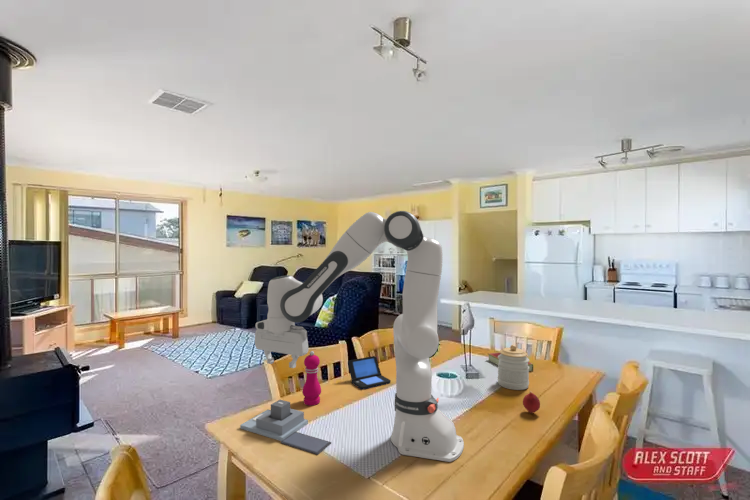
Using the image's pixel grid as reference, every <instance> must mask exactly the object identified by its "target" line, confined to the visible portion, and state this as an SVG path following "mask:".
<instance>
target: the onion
mask: <svg viewBox="0 0 750 500" xmlns="http://www.w3.org/2000/svg"><path fill="white" fill-rule="evenodd" d="M522 405H523V407H524V408H525V409H526V411H528V412H529V414H533V413H536V412H538V411H539V410H540V407H541V401H540V399H539V398H538V396H537V395H536V394H534V392H533V391H532V390H529V393H527V394H525V395H524V397H523V399H522Z"/></svg>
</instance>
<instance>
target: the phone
mask: <svg viewBox="0 0 750 500" xmlns="http://www.w3.org/2000/svg"><path fill="white" fill-rule="evenodd" d="M280 444H283V445H286V446H288V447H292V448H295V449H297V450H301V451H304V452H307V453H309V454H310V453H311V454H314V455H316V456H319V455H320V454H322V452H323V451H324V450H326V449H327V448H328V447H329V446H331V444H332V442H331V441H328V440H326V439H322V438H318V437H315V436H312V435H309V434H304V433H302V432H298V431H297V432H294V433H292V434H291V435H290V436H288V437H287V438H285V439H284V440H282V441H280Z"/></svg>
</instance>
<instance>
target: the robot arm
mask: <svg viewBox="0 0 750 500" xmlns="http://www.w3.org/2000/svg"><path fill="white" fill-rule="evenodd" d="M386 242H388V243H390V244H392V245H393V246H394V247H397V248H399V249H403V250H405V251H406V254H407V260H406V261H407V263H406V269H405V274H404V282H403V287H402V313H401V314H399V315H398V316H397V317H396V318H395V320H394V322H393V325H392V327H393V328H392V329H393V330H392V331H393V346H394V347H393V348H394V358H395V368H396V369H395V371H396V378H395V379H396V381H395V382H396V387H395V389H396V390H395V391H396V392H395V393H394V412H395V414H394V415H395V416H394V423H393V427H392V432H391V435H390V441H391V443H392V444H393V446H395V447H396V448H397V449H398V450H397V451H398V453H400V455H403V456H409V457H417V458H422V459H429V460H435V461H442V462H449V463H451V462H454V461H455V460H457V459H458V458H459V457H460V456H461V455H462V454H463V451H464V448H465V444H464V439H463V437H462V436H461V435H458V434H457V430H456V429H457V428H456V427H455V423H454V422H453V421H452V420H451V419H450V418H449V417H448V416H447V415H445V414H444V412H442V411H441V410H440V409H439V408H438V407H439V405H438V403H439V399H440V398H439V397H437V398H435V396H433V394H432V389H433V388H432V387H433V386H432V385H433V384H432V376H433V374H432V366H431V363H430V362H431V361H430V358H431V357H432V356H433V355H435V353H436V352H437V351H438V348H439V345H440V339H439V335H438V317H439V316H438V301H439V292H440V285H441V277H442V272H443V271H442V270H443V247H442V245H441V243H440V242H439V241H437V240H436V239H434V238H431V237H426V236H425V235H424V233H423V231H422V228H421V224H420V222H419V220H418V218H417V217H416V216H415V215H414V214H412V213H411V212H409V211H406V210H397V211H395V212H394V211H393V213H391V214H390V215H389V216H388V217H387V218H385V217H383V216H382V215H380V214H379V213H376V212H374V211H368V212H365V213H364V214H362V216H360V217H359V218H358V219H357V220H356V221H353V223H352V224H351V225H350V226H349V227H348V228H347V229H346V231H345V232H344V233H343V234H342V235H341V236H340V237H339V239H338V240H337V242H336V243H335V245H334V246H333V248H332V249H331V251H330V252H329V253H328V254H327V256H326V257H325V258H324V260H323V261H322V262H321V264H319V266H318V267H316V269H315V270H314V271H312V273H311V274H310V275H309V276H308V277H307V279H306V280H305V281H303V282H302V281H299V280H298V279H296V278H295V277H294V276H292V275H288V274H287V275H281V276H275V277H273V278H271V279H270V281H269V282H268V285H267V297H266V299H267V302H266V303H267V308H268V311H267V316H266V317H267V318H266V319H263V320H261V321H257V322H256V323H255V325H254V326H255V329H256V330H255V334H254V346H255V348H256V350H260V351H263V354H264V356H265V358H266V363H267V364H269V365H272V364H274V363H275V357H272V356H273V355H272V352H273V353H278V354H283V355H290V356H291V359H292V360H291V361H290V362H288V367H289V368H291V369H294V368H295V369H296V367H297V362H298V359H299V358H300V357H302V356H303V357H304V356H305V355H307V354H308V353H309V341H308V332H307V330H306V329H305V328H304V327H303V326H298V325H295V323H302V322H304V321H306V320H307V319H308V318H309V317H310V316H312V315H313V314H315V313H316V312H317V311H319V309H320V308H321V307H322V305H323V302H324V296H323V293H324V292H325V290H327V288H329V286H330V285H331V284H332V283H333V282H334V281H335V280H336V279H338V278H339V277H340V276H342V275H343V274H345V273H348V272H349V271H351V270H353V269H355V268H357V267H358V266H360V265H361V264H362V263H364V262H365V261H366V260H367V259H368V258H369V257H370V256H371V254H373V253H374V251H375V250H377V248H378V247H379V246H380V245H381V244H383V243H386Z"/></svg>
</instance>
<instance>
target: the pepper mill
mask: <svg viewBox="0 0 750 500" xmlns="http://www.w3.org/2000/svg"><path fill="white" fill-rule="evenodd" d="M320 363H321V361H320V357H319V356H318V355H316V354H315V352H314V350H311V351H309V355H307V356H306V357H305V358H304V361H303V364H304V366H305V370H304V371H305V373H306V379H305V382H304V385H303V388H302V390H301V391H302V395H303V404H304V405H305V406H316V405H318V404H320V402H321V397H320V395H321V394H322V386H321V383H320V382H319V378H318V373H319V365H320Z"/></svg>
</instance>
